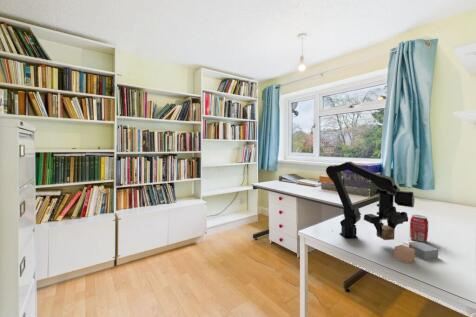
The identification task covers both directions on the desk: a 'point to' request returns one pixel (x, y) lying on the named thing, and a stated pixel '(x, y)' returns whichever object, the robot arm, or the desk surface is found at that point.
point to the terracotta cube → (404, 253)
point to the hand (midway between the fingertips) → (385, 235)
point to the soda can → (419, 228)
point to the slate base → (424, 251)
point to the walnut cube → (387, 233)
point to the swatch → (411, 242)
